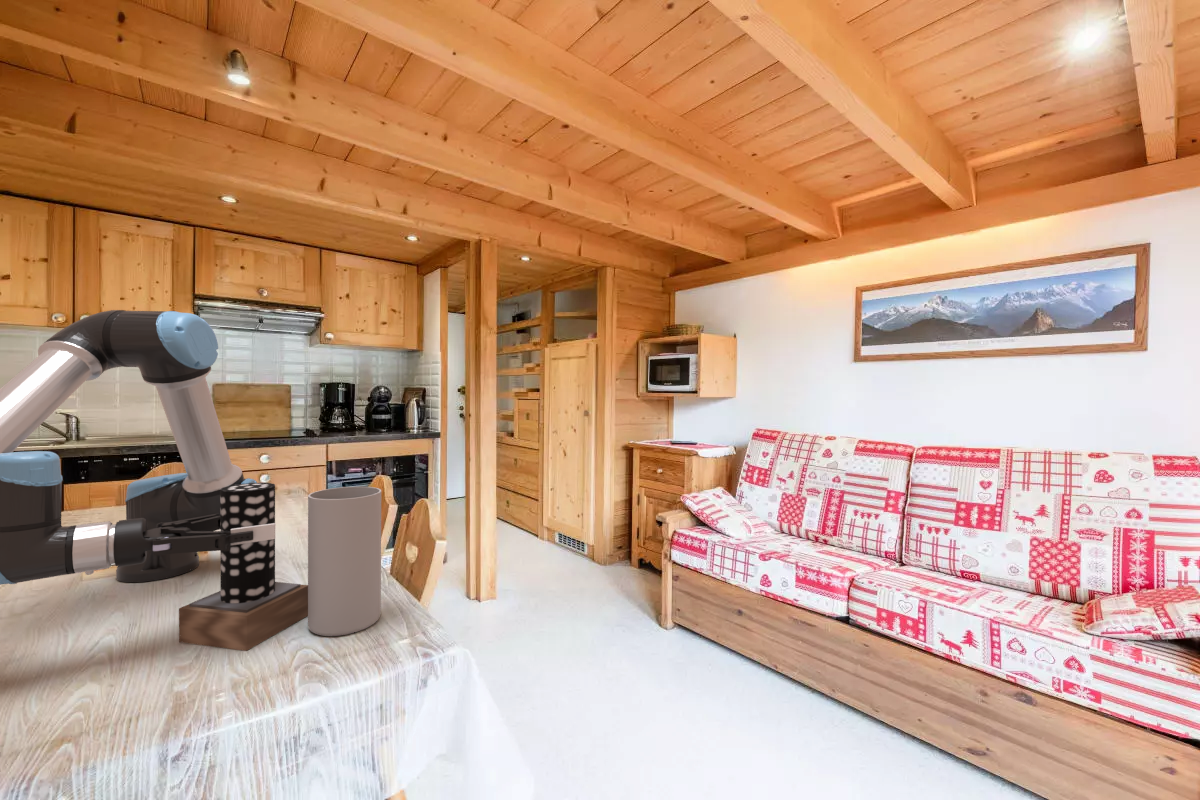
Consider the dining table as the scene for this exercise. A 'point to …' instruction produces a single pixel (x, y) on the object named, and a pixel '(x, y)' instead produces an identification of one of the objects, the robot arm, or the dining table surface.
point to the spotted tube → (247, 563)
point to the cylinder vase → (344, 560)
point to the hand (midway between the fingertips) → (271, 523)
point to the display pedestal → (242, 618)
